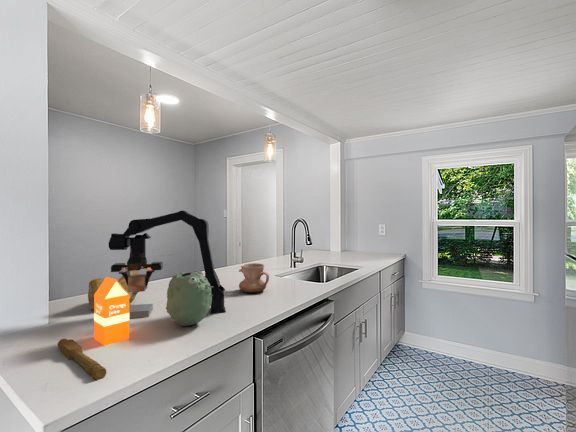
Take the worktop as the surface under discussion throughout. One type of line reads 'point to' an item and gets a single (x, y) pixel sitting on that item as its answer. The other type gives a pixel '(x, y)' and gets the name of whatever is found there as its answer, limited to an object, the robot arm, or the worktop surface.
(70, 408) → the worktop surface
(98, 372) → the tap handle
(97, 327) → the orange juice
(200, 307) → the green bumpy vase
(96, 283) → the rough brown rock
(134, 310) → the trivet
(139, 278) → the cube
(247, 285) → the ceramic jug
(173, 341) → the worktop surface
